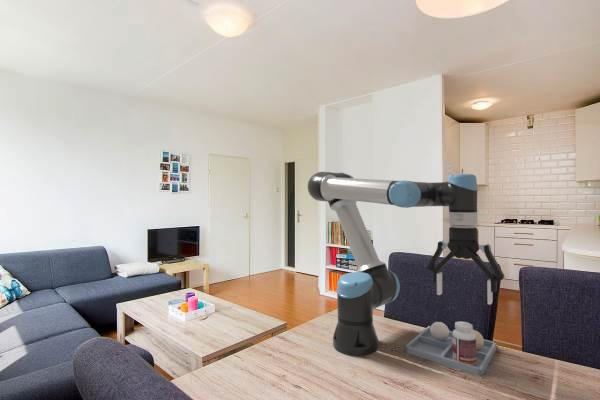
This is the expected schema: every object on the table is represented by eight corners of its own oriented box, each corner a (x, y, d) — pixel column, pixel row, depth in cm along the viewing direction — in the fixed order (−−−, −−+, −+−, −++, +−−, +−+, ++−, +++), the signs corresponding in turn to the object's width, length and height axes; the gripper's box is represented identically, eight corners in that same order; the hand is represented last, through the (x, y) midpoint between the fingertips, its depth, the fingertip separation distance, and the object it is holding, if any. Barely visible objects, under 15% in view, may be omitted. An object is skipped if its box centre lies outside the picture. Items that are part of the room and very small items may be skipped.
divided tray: (404, 354, 99) (404, 346, 99) (428, 332, 115) (428, 325, 115) (481, 379, 85) (481, 369, 85) (496, 350, 101) (496, 342, 101)
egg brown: (460, 349, 100) (460, 330, 100) (465, 343, 105) (465, 325, 105) (481, 355, 96) (481, 336, 96) (486, 348, 101) (485, 329, 101)
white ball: (427, 340, 107) (427, 322, 107) (433, 334, 112) (433, 317, 112) (446, 345, 103) (445, 327, 103) (451, 339, 108) (451, 322, 108)
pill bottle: (480, 363, 92) (480, 325, 92) (469, 369, 88) (468, 330, 89) (459, 354, 97) (459, 318, 97) (448, 360, 94) (447, 323, 94)
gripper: (416, 225, 98) (416, 293, 98) (511, 229, 82) (512, 311, 82) (424, 224, 104) (425, 288, 104) (515, 227, 88) (516, 304, 88)
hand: (463, 298), depth 93 cm, fingers open, 13 cm apart
